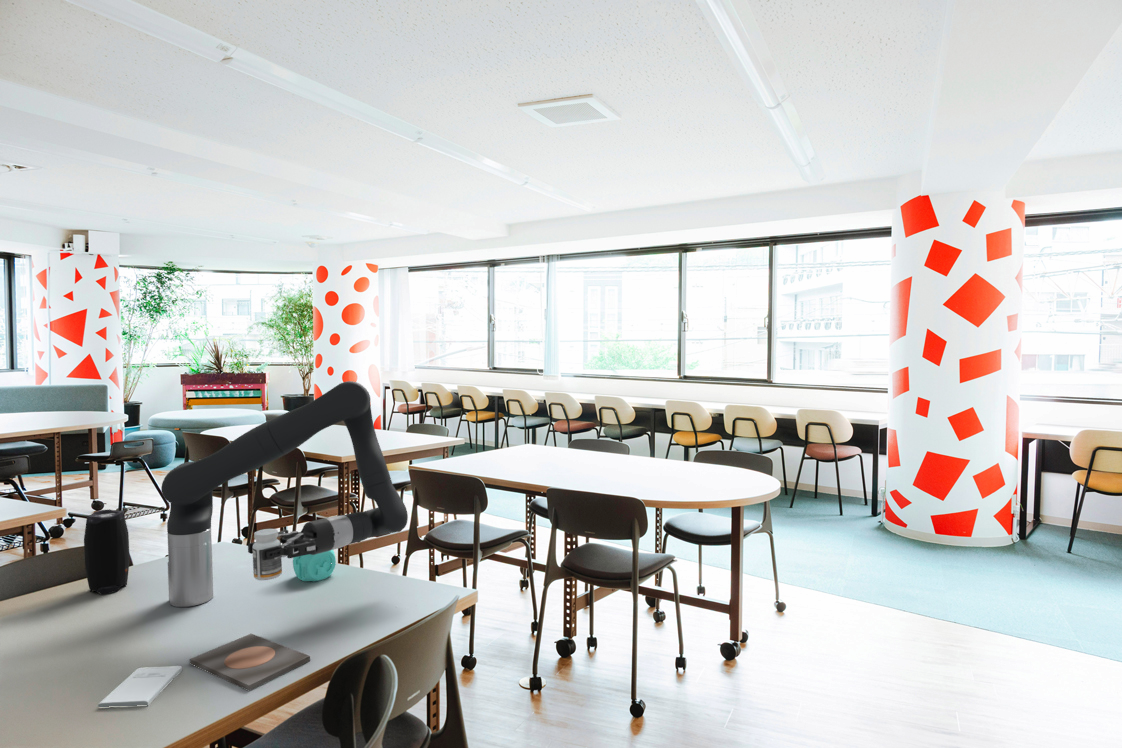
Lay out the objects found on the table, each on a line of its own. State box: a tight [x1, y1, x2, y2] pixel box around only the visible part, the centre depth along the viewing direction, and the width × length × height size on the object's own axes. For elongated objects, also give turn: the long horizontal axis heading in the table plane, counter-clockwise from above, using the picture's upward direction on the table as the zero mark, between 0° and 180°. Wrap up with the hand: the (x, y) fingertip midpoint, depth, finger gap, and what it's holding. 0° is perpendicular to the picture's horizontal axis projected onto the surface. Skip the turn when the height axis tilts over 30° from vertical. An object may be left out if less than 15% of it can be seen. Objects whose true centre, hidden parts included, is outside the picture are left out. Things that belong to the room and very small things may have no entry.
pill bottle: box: [252, 528, 283, 581], centre depth 145 cm, size 6×6×10 cm
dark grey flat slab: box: [189, 633, 311, 691], centre depth 131 cm, size 19×13×1 cm
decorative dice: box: [292, 550, 337, 582], centre depth 177 cm, size 8×8×8 cm
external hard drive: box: [97, 665, 183, 708], centre depth 121 cm, size 2×8×12 cm
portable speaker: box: [83, 509, 131, 596], centre depth 168 cm, size 9×9×20 cm
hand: (255, 552), depth 143 cm, fingers closed on pill bottle, 5 cm apart
